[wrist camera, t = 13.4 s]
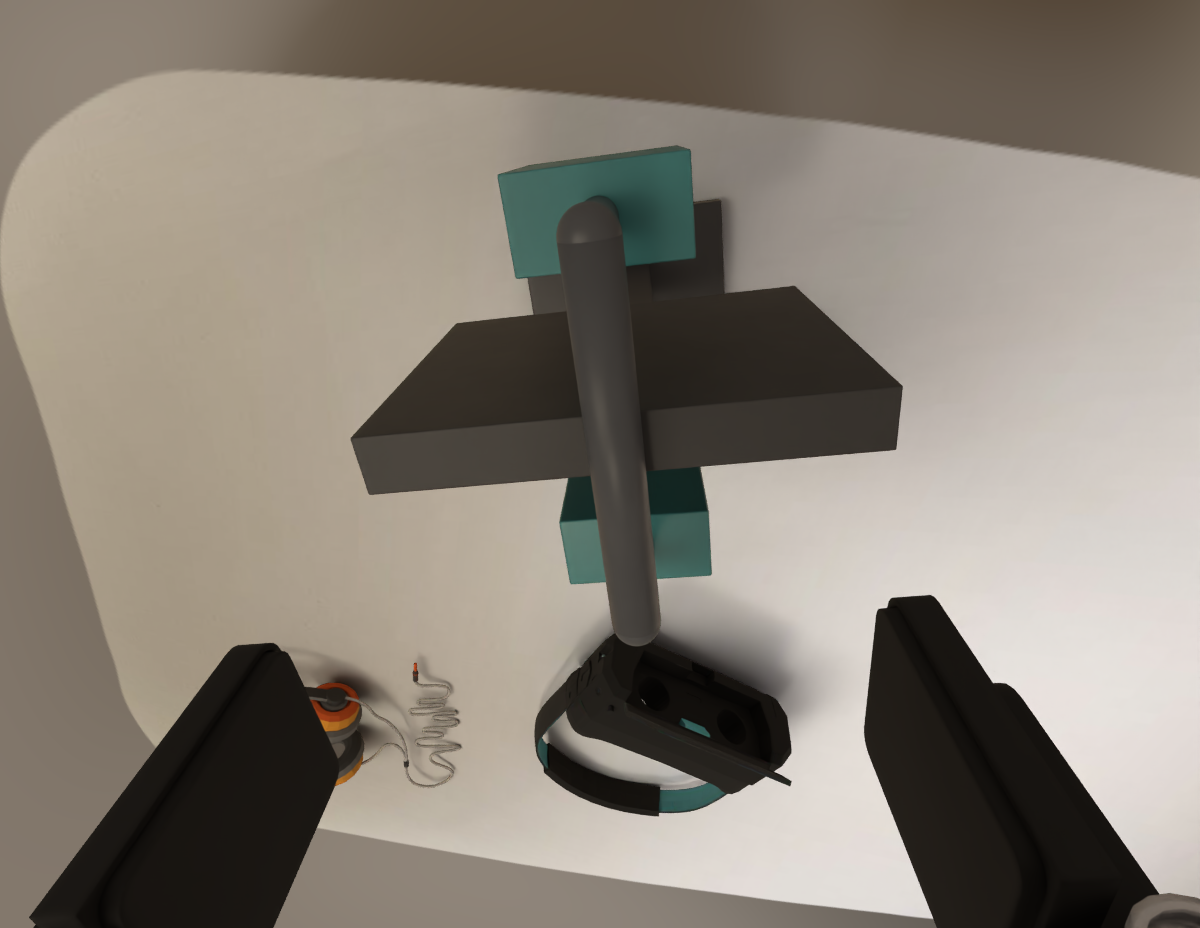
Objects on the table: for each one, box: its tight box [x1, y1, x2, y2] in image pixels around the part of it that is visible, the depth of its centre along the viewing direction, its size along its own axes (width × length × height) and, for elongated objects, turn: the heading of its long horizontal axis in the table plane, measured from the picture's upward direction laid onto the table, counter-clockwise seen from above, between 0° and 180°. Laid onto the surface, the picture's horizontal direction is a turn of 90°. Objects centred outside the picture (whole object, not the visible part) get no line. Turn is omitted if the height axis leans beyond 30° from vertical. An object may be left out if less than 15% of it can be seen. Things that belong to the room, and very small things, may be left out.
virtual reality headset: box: [535, 634, 792, 816], centre depth 54 cm, size 19×22×10 cm
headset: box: [498, 145, 712, 646], centre depth 22 cm, size 15×6×11 cm, turn 7°
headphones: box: [305, 663, 461, 788], centre depth 57 cm, size 17×5×20 cm
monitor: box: [351, 199, 903, 495], centre depth 29 cm, size 8×16×24 cm, turn 97°
